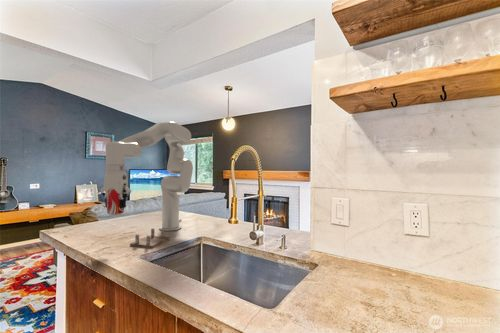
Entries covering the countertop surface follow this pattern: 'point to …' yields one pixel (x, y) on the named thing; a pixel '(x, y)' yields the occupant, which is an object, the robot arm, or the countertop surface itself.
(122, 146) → the robot arm
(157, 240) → the pin tray
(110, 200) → the soda can
